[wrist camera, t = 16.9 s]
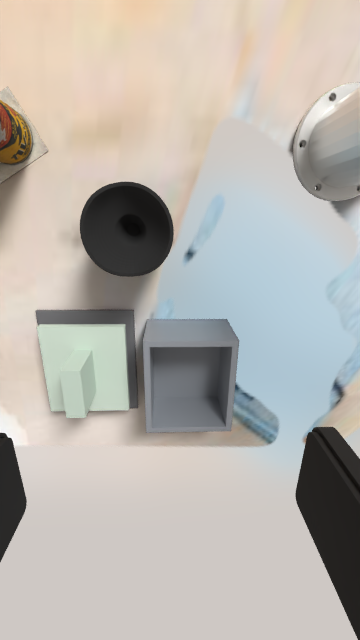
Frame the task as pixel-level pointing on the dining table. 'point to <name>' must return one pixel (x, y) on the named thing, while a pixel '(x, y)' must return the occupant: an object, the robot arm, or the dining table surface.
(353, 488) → the robot arm
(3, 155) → the condiment
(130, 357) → the dark grey flat plate
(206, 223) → the dining table surface
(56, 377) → the green slab
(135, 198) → the pen holder
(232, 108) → the dining table surface
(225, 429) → the tub
